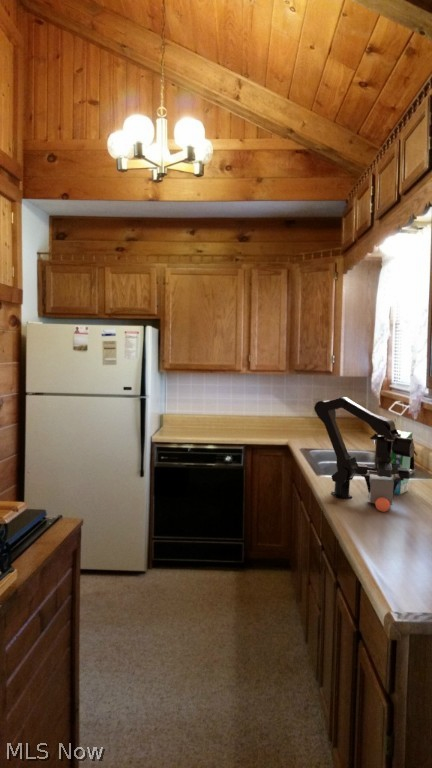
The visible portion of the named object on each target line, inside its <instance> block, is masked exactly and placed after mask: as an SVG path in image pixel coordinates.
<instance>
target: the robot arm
mask: <svg viewBox="0 0 432 768" xmlns="http://www.w3.org/2000/svg"><path fill="white" fill-rule="evenodd" d="M313 409H314V411H315V414H316V416H317V417H318V419H320V421H321V422H322V423H323V425H324V427H325V430H326V432H327V435H328V438H329V441H330V443H331V447H332V448H333V451H334V455H335V457H336V469H337V471H336V472H334V473H333V474H331V479H332V482H334V491H330V493H331V494H332V495H333V496H334V497H335V498H336V499H352V498H353V496H352V495H351V494H350V489H351V488H350V486H351V485H350V484H351V481H353V479H354V477H355V476H357V475H360V476H361V477H362V478H363V477H364V480H365V484H366V488H367V493H368V492H369V493H370V476H369V474H370V473H372V474H373V473H374V474H376V475H378V476H380V477H382V476H384V477H391V476H392V475H393V481H394V486H393V494H394V491H395V488H396V486H397V485H398V483H399V482H400V481H401V480H402V481H403V480H404V479H410V478H411V477H410V476H411V474H410V470H409V471H408V470H407V469H406V468H399V467H398V464H392V463H391V452H392V451H393V453H394V454H395V455H399V456H405V457H410V459H411V458H413V456H414V453H415V449H416V448H415V444H414V439H413V437H412V438H402V437H401V436H400V435H399V433H398V432H397V430H398V429H397V428H396V424H395V421H393V420H392V419H390V418H388V417H385V416H382V415H379V414H376V413H373V412H372V411H370V410H368V409H367V408H364V406H361V405H360V404H358V403H356V402H354V401H353V400H351V399H350V398H349V397H346V396H341V397H338V398H335V399H332V400H329V399H327V400H320V401H316V402H315V404H314V407H313ZM339 409H343V410H345V411H347V412H349V413H350V414H352V415H353V416H355V417H357V418H358V419H360V420H361V421H363V422H365V423H366V424H367V425H368V426H369V427H370V428H371V429H372V430H373V431H374V432H375V433H374V434H373V435H372V436H370V438H369V439H370V440H375V453H374V463H373V465H374V466H372V467H371V466H368V465H367V464H364V463H358V462H357V459H356V457H355V456H351V455H350V454H349V452H348V450H347V448H346V447H347V446H346V445H345V442H344V439H343V436H342V434H341V431H340V428H339V426H338V424H337V421H336V414H337V413H336V411H337V410H339Z"/></svg>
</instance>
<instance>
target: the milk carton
mask: <svg viewBox="0 0 432 768" xmlns="http://www.w3.org/2000/svg"><path fill="white" fill-rule="evenodd" d="M396 430H397V432H398V433H399V435H400V436H401V437H402V438H412V439H413V432H411V431H410V432H409V431H406V430H405V431H403V430H398V429H396ZM391 463H392V464H398V467H399V468H406V469H407V470H408V471H409V472H410V468H411V467H410V466H411V457H405V456H399V455H395V454H394V453H393V451H392V452H391ZM391 478H392V480H393V475H392V476H391ZM409 481H410V480H409V479H404V480H403V481H402V480H401V481H400V482H399V483H398V485H397V486H396V488H395V491H394V493H393V495H398V496H401V495H402V494H404V493H406V492H408V491H409Z"/></svg>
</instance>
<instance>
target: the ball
mask: <svg viewBox="0 0 432 768" xmlns="http://www.w3.org/2000/svg"><path fill="white" fill-rule="evenodd" d="M374 505H375V508H376V509H377V510H378V511H379V512H381V513H383V512H384V513H385V512H387V511H388V510H390V507H391V505H390V503H389V501H388V500H387V499H386V498H383V497H381V498H378V499H377V500H376V502H375V503H374Z"/></svg>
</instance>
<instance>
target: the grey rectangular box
mask: <svg viewBox="0 0 432 768" xmlns="http://www.w3.org/2000/svg"><path fill="white" fill-rule="evenodd" d="M369 476H370V493H369V492H368V491H367V498H368V501H369V504H375V502H376V500H377V499H378V498H381V497H383V498H386V499H387V500H388V501H389V503H390V506H393V498H394V493H393V486H394V481H393V480H392V478H391V477H384V476H382V477H380V476H378V475H377V474H373V473H372V474H371V473H369Z"/></svg>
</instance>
